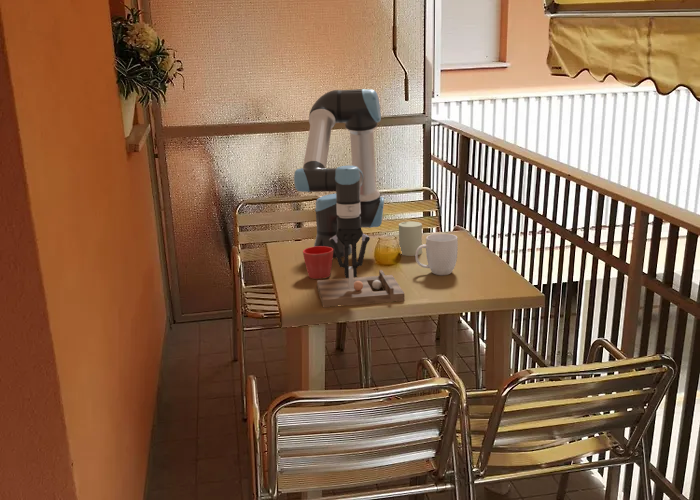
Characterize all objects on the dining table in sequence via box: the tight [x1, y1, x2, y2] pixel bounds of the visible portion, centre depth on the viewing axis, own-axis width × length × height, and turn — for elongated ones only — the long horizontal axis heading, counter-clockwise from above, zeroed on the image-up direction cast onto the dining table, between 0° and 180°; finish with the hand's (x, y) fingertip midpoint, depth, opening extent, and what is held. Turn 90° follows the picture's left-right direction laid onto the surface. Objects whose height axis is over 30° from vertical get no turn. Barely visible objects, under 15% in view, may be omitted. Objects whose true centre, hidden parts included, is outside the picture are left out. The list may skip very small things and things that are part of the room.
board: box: [316, 269, 406, 308], centre depth 238 cm, size 20×26×4 cm
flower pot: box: [302, 246, 334, 280], centre depth 258 cm, size 11×11×10 cm
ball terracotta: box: [354, 281, 363, 291], centre depth 234 cm, size 3×3×3 cm
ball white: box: [371, 280, 382, 290], centre depth 242 cm, size 3×3×3 cm
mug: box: [414, 232, 459, 276], centre depth 256 cm, size 15×11×13 cm
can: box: [398, 220, 423, 257], centre depth 282 cm, size 9×9×12 cm
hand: (351, 287), depth 233 cm, fingers closed
